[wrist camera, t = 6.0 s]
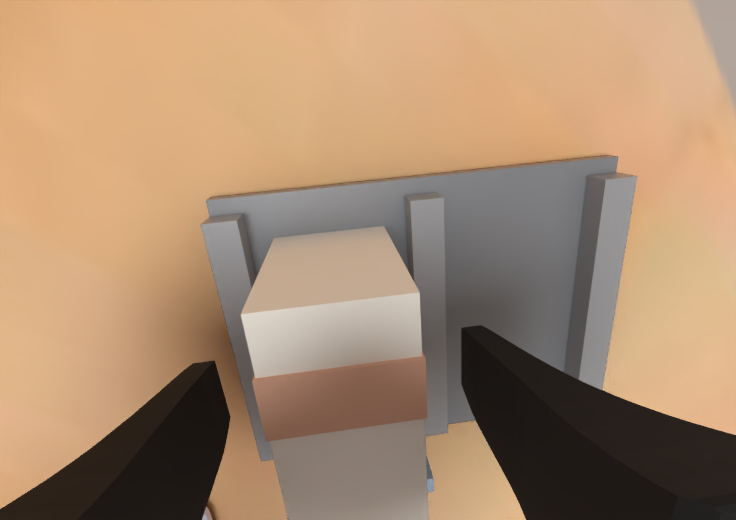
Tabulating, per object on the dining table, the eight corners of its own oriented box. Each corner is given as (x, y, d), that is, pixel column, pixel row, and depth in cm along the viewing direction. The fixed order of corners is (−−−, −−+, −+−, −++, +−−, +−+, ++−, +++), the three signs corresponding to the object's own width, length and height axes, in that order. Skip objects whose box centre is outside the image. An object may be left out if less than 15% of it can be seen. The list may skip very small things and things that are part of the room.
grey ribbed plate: (574, 401, 16) (625, 460, 13) (270, 447, 15) (257, 519, 13) (607, 155, 13) (687, 165, 10) (210, 197, 12) (174, 221, 9)
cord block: (397, 399, 15) (431, 534, 10) (304, 412, 14) (293, 557, 10) (385, 225, 12) (423, 294, 7) (272, 238, 12) (236, 317, 7)
